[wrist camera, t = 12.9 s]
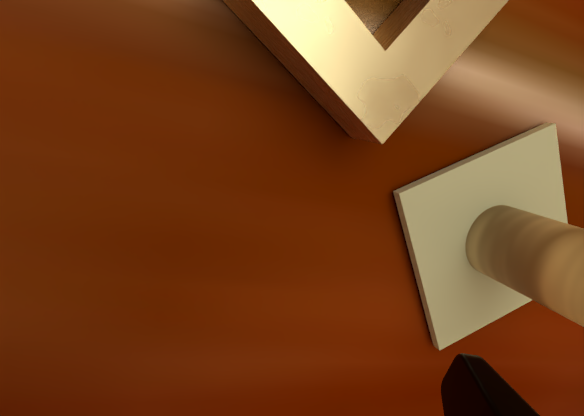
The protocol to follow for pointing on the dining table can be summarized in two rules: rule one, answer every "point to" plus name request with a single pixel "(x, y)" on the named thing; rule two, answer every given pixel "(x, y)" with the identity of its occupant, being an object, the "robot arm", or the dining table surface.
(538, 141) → the pad
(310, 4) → the collar
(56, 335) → the dining table surface
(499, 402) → the robot arm
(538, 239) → the post
